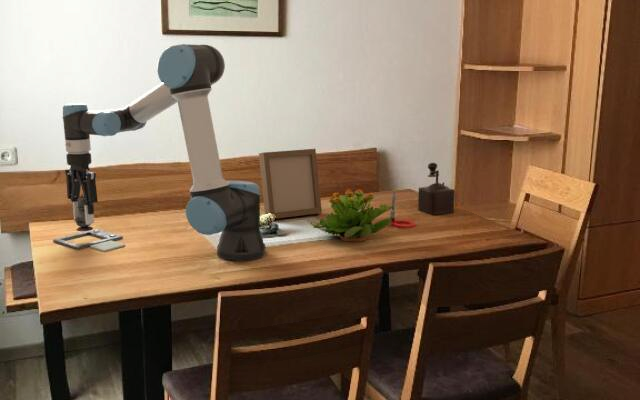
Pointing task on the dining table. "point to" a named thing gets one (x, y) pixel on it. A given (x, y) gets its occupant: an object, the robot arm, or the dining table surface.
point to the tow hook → (394, 221)
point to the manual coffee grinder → (436, 196)
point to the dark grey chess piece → (82, 216)
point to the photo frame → (290, 183)
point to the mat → (107, 245)
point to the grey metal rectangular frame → (97, 232)
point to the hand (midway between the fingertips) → (84, 222)
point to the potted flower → (353, 217)
